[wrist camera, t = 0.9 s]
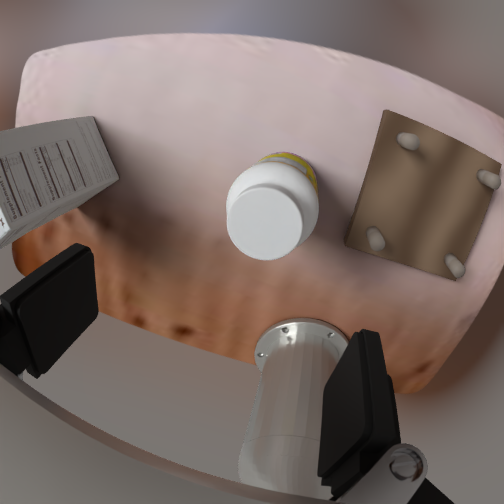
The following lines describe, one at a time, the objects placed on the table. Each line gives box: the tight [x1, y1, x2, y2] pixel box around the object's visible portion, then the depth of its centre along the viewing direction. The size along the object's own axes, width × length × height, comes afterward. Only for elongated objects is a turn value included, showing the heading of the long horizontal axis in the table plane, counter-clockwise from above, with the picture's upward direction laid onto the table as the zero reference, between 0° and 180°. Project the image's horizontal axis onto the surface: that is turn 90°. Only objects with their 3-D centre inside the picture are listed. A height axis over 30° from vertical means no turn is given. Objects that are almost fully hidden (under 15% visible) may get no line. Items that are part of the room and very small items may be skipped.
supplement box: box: [0, 116, 119, 249], centre depth 26 cm, size 10×9×17 cm
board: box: [344, 110, 502, 281], centre depth 25 cm, size 14×14×4 cm
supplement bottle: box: [226, 152, 319, 260], centre depth 24 cm, size 7×7×13 cm
